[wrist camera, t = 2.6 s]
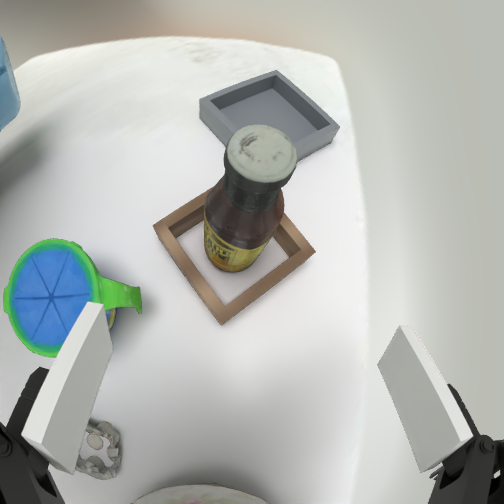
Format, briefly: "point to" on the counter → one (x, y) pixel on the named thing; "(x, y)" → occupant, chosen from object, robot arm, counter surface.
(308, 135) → the tray
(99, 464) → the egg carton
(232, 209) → the sauce bottle
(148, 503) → the ceramic pitcher
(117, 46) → the counter surface
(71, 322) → the snack cup
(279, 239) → the square brown frame
